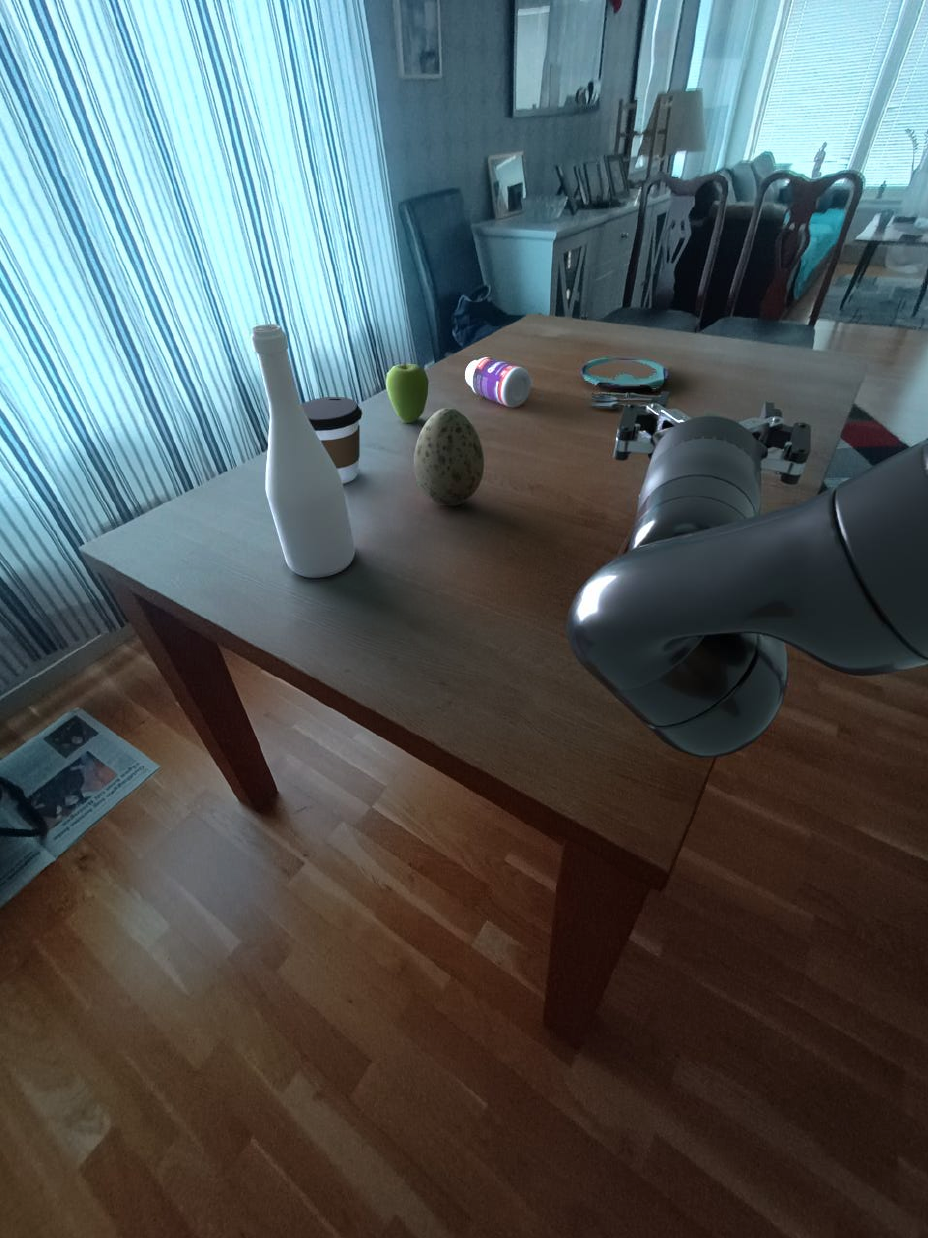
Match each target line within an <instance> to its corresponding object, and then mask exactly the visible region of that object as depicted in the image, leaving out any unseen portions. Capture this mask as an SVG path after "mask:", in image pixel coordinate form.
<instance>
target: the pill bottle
mask: <svg viewBox="0 0 928 1238" xmlns="http://www.w3.org/2000/svg"><path fill="white" fill-rule="evenodd" d="M464 376H465V377H464V378H465V382H466V384H467V385H468V386H470V387H471V389H472V392H474V393H475V394H476V393H477V394H476V395H477V396H479V397H482V398H484V399H488V400H490V401H492V402H495V403H498V404H500V405H503V406H506V407H508V408H517V407H519V406H521V405H522V404H523V403H524V402H526V400H527V398H528V396H529V394H530V391H531V385H532V380H531V379H532V378H531V375H530V373H529V371H528V370H527V369H526V368H524V367H522V366H519V365H516V364H512V363H509V362H505V361H503V360H499V359H496V358H493V357H489V356H485V357H482V358H480V359H478V360H477V359H474V360H472V361H470V363H469V364H468V365H467V367H466V368H465V374H464ZM478 394H480V395H478ZM481 395H482V396H481ZM483 396H485V397H483ZM486 397H487V398H486ZM489 398H490V399H489ZM491 399H492V400H491ZM494 400H495V401H494ZM523 401H524V402H523ZM518 403H519V404H518Z"/></svg>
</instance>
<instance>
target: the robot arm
mask: <svg viewBox="0 0 928 1238" xmlns="http://www.w3.org/2000/svg"><path fill="white" fill-rule="evenodd" d="M653 396H654V397H650V399H651V401H650V402H648V404H646V405H647V408H646V409H639V406H638V405H639V404H635V403H625V404H626V405H624V407H622V408H623V409H622V411H621V412H622V413H621V416H620V419H619V422H618V425H617V432H616V435H615V436H616V437H615V443H614V450H613V455H612V458H613V459H614V460H616V461H622V462H623V461H627V460H628V459H629V457H630V455H635V454H645V455H647V457H648V459H649V465H648V468H647V471H646V474H645V477H644V480H643V484H642V487H641V490H640V493H639V495H638V502H637V513H636V514H637V515H636V517H637V519H636V518H635V519H636V522H635V525H634V529H633V532H632V535H631V539H630V542H629V546H628V551H627V553H625V554H623V555H621V556H619V557H617V556H616V557H617V558H616V557H615V558H613V559H611V560H609V561H608V562H607V563H605V564H604V565H602V566H601V567H600V568H598V569H597V570H596V571H595V572H593V574H591V575H590V576H589V577H588V578H587V579H586V580H585V582H584V583H583V584H582V585H581V586H580V588H579V589H578V591H577V592H576V594H575V596H574V597H573V599H572V601H571V604H570V607H569V608H568V609H569V610H568V613H567V617H566V626H565V629H566V630H565V631H566V632H565V633H566V640H567V643H568V647H569V648H570V650H571V653H572V654H573V656H574V658H576V660H577V661H578V663H579V664H580V665H581V666H582V668H584V670H586V671H587V672H588V673H589V674H590V676H592V677H593V678H594V679H595V680H596V681H597V682H598V683H599V684H600V685H601V686H602V687H604V688H605V689H606V690H607V691H608V692H609V693H610V694H611V695H612V696H613V697H614V698H616V700H617V701H619V702H620V703H621V704H622V705H623V706H624V707H625V708H626V709H627V710H628V711H629V712H630V713H631V714H632V715H633V716H635V718H637V719H638V720H639V722H641V723H642V724H643V725H644V726H645V727H646V728H647V729H648V730H649V731H650V732H651V733H653V735H655V736H656V737H657V738H658V739H660V741H662V742H663V743H664V744H666V745H667V746H669V747H671V748H672V749H674V750H676V751H677V752H681V753H683V754H685V755H688V756H691V757H695V758H696V757H697V758H706V759H707V758H721V757H726V756H729V755H733V754H735V753H737V752H739V751H742V750H743V749H745V748H747V747H748V746H750V745H752V744H753V743H754V742H756V741H757V740H758V739H759V738H760V737H761V736H763V734H764V733H765V732H766V731H767V730H768V729H769V728H770V726H771V725H772V723H773V721H775V718H776V717H777V715H778V713H779V712H780V709H781V707H782V705H783V702H784V699H785V696H786V691H787V686H788V681H789V660H788V652H787V647H786V644H787V645H789V646H791V647H792V648H794V649H796V650H797V651H799V652H801V653H803V654H804V655H806V656H808V657H809V658H811V659H813V660H814V661H815V662H817V663H819V664H821V665H823V666H825V667H826V668H828V669H830V670H833V671H836V672H839V673H842V674H845V675H849V676H855V677H873V676H881V675H886V674H892V673H897V672H901V671H905V670H909V669H914V668H918V667H922V666H927V665H928V437H927V438H925V440H921V441H919V442H917V443H915V444H913V445H911V446H910V447H907V448H906V449H904V450H902V451H900V452H898V453H896V454H895V455H892V456H890V457H888V458H887V459H884V460H882V461H881V462H879V463H876V464H875V465H873V466H871V467H869V468H867V469H865V470H863V471H861V472H859V473H857V474H856V475H854V476H852V477H850V478H847V479H846V480H843V481H842V482H840V483H839V484H837V485H834V486H832V487H830V488H829V489H827V490H824V491H823V492H821V493H819V494H817V495H815V496H813V497H810V498H809V499H807V500H804V501H801V502H799V503H795V504H793V505H789V506H786V507H784V508H779V509H776V510H773V511H769V512H765V513H761V508H762V471H763V470H764V471H770V472H774V473H775V474H776V475H780V482H781V483H783V484H786V485H797V484H798V483H799V482H800V478H801V476H802V474H803V472H804V469H805V466H806V464H807V461H808V459H809V457H810V455H811V447H812V445H811V444H812V443H811V440H812V439H811V438H812V426H811V424H809V423H806V422H800V421H799V422H798V421H797V422H794V423H793V425H792V426H790V425H787V424H785V422H786V419H785V418H783V412H782V410H781V409H780V408H775V402H768V401H765V402H764V403H763V406H762V409H761V412H760V415H759V418H758V417H756V416H753V417H751V418H748V419H744V420H742V421H736V420H733V419H730V418H728V417H724V416H721V417H718V416H703V415H702V416H697V417H690V416H688V415H687V414H685V413H684V412H682V411H681V410H679V409H678V408H667V406H668V402H669V397H670V391H661V392H660V395H653ZM776 448H777V450H776ZM775 450H776V451H775ZM774 451H775V452H774ZM760 513H761V514H760Z"/></svg>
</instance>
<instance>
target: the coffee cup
mask: <svg viewBox="0 0 928 1238" xmlns="http://www.w3.org/2000/svg"><path fill="white" fill-rule="evenodd" d="M301 406H302V408H303V410H304V413H305V414H306V416H307V418H308V420H309V421H310V423H311V425H312V427H313V428H314V430H315V432H316V434H317V435H318V437H319V439H320V441H321V442H322V444H323V446H324V448H325V449H326V451H327V453H328V454H329V456H330V458H331V459H332V461H333V463H334V464H335V466H336V468H337V470H338V472H339V474H340V476H341V479H342V484H347V483H350V482H351V481H354V480H355V479H356V478H357V476H358V473H359V468H360V467H359V466H360V465H359V464H360V463H359V462H360V461H359V460H360V455H361V454H360V453H361V451H360V450H361V449H360V448H361V447H360V443H361V442H360V441H361V439H360V438H361V437H360V434H361V433H360V427H361V426H360V424H359V421H360V420H361V419H362V416H363V410H362V409H361V407H360V406H359V405H358V403H357V402H356V400H354V399H351V398H348V397H342V396H325V397H319V398H313V399H311V400H308V401H304V402H303V403H302V404H301Z"/></svg>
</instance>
